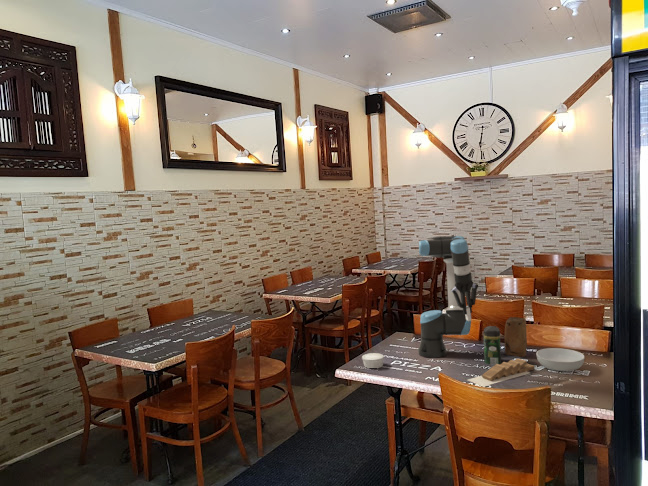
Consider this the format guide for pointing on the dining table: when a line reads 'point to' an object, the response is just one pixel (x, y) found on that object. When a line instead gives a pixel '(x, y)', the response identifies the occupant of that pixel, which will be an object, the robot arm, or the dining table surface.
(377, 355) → the ramekin
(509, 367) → the domino
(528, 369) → the domino
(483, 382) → the domino board
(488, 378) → the domino
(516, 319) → the block
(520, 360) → the domino
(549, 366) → the serving bowl
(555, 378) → the dining table surface
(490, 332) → the coffee jar
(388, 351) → the dining table surface
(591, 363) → the dining table surface
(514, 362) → the domino
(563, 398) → the dining table surface
